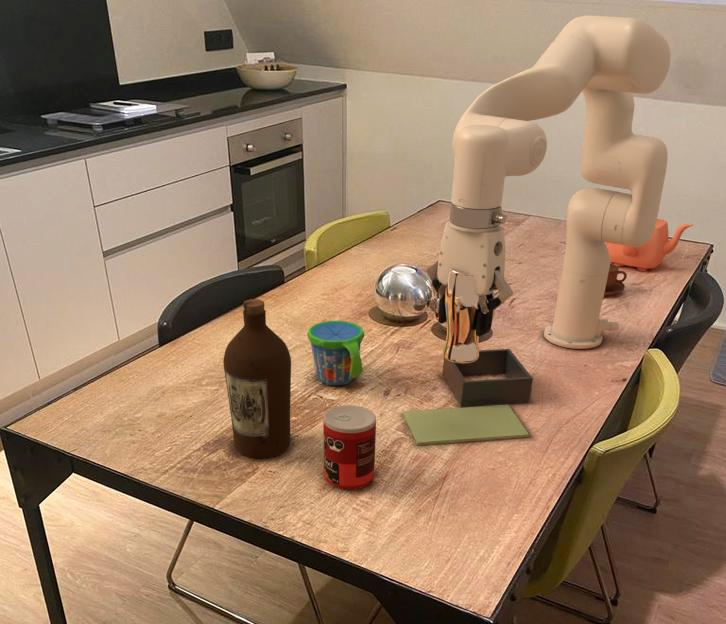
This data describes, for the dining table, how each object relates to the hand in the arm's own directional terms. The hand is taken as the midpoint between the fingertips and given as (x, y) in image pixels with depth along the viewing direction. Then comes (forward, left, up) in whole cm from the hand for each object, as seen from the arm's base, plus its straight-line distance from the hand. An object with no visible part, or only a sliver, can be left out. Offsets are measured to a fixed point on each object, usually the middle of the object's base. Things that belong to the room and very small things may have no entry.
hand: (463, 326), depth 125 cm
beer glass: (0, 0, -5) cm, 5 cm away
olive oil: (+34, +2, -19) cm, 39 cm away
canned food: (+21, +14, -19) cm, 31 cm away
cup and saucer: (-56, -62, -19) cm, 86 cm away
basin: (-10, -13, -19) cm, 25 cm away
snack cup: (+18, -21, -19) cm, 34 cm away
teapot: (-75, -81, -19) cm, 112 cm away
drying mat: (-2, 0, -19) cm, 19 cm away
